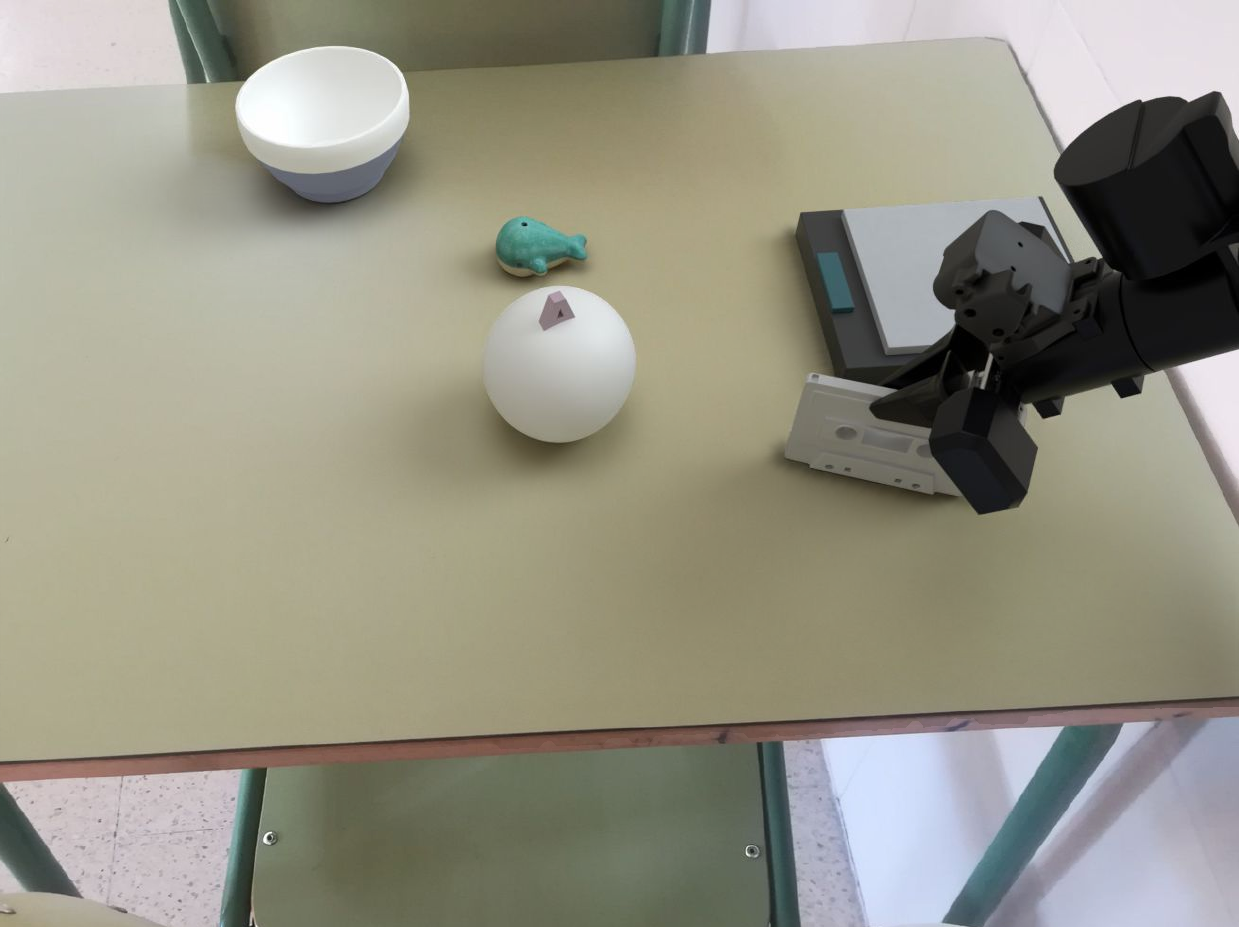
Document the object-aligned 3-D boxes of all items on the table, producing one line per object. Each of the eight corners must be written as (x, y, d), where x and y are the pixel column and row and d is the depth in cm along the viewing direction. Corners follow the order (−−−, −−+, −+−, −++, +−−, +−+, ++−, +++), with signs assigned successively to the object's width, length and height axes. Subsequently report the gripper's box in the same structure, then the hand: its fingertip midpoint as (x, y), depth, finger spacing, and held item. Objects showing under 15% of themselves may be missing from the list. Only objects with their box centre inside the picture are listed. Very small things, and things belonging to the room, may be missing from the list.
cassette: (965, 482, 71) (1005, 405, 64) (962, 503, 70) (1003, 427, 63) (786, 443, 73) (808, 365, 67) (781, 463, 73) (803, 386, 66)
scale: (1032, 218, 84) (1046, 187, 82) (1106, 373, 75) (1125, 343, 73) (794, 234, 85) (802, 203, 83) (839, 389, 76) (848, 360, 73)
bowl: (427, 213, 89) (417, 134, 83) (258, 238, 89) (235, 160, 82) (408, 113, 97) (397, 34, 91) (252, 136, 97) (231, 58, 90)
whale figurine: (498, 238, 87) (496, 199, 84) (587, 237, 86) (588, 198, 83) (494, 286, 84) (492, 248, 81) (586, 286, 83) (587, 247, 80)
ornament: (566, 494, 72) (568, 372, 62) (459, 421, 76) (444, 296, 66) (658, 408, 76) (673, 280, 66) (551, 343, 80) (550, 213, 70)
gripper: (1100, 94, 55) (844, 217, 68) (1040, 328, 47) (758, 421, 59) (1187, 248, 60) (932, 338, 72) (1148, 489, 51) (865, 544, 63)
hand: (875, 402), depth 67 cm, fingers closed on cassette, 1 cm apart
